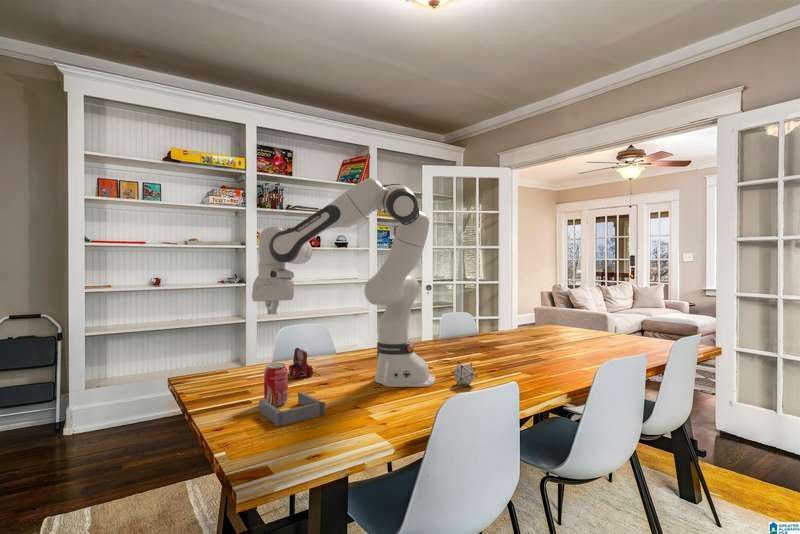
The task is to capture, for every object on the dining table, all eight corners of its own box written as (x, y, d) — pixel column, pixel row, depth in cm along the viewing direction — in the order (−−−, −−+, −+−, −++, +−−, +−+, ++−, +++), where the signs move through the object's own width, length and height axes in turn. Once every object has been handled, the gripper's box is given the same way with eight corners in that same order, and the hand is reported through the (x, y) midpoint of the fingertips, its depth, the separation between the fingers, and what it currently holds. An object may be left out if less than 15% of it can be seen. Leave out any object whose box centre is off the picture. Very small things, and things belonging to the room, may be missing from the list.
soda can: (267, 400, 138) (266, 362, 138) (289, 399, 138) (289, 362, 138) (261, 408, 131) (261, 368, 131) (285, 407, 131) (285, 367, 131)
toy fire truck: (304, 370, 175) (303, 345, 175) (314, 377, 165) (314, 350, 165) (287, 373, 172) (286, 347, 172) (296, 380, 161) (296, 352, 161)
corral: (257, 412, 127) (257, 400, 127) (303, 402, 136) (303, 391, 136) (276, 426, 116) (276, 413, 116) (325, 414, 125) (325, 402, 125)
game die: (468, 394, 155) (485, 372, 155) (462, 392, 147) (479, 368, 148) (449, 379, 159) (465, 357, 160) (442, 376, 152) (459, 353, 152)
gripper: (247, 275, 155) (247, 314, 154) (281, 271, 142) (281, 314, 140) (263, 276, 160) (263, 314, 158) (297, 272, 146) (297, 313, 145)
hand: (272, 314), depth 149 cm, fingers closed
